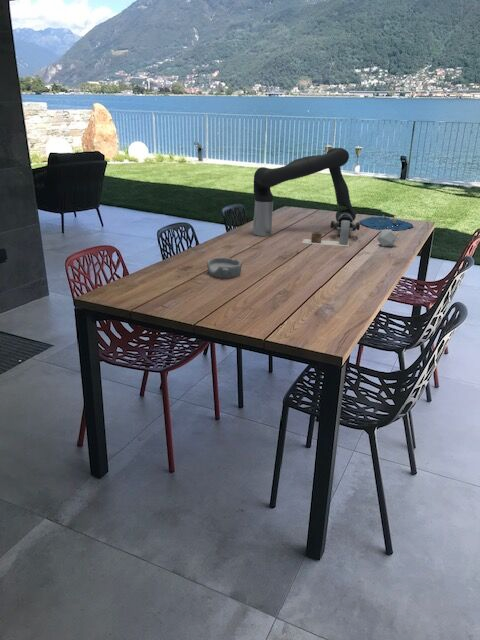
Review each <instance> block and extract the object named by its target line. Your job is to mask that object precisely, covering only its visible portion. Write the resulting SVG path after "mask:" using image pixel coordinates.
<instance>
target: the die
mask: <svg viewBox="0 0 480 640" xmlns="http://www.w3.org/2000/svg"><path fill="white" fill-rule="evenodd" d="M397 239H398V235H396V234H395V232H394V230H391V229H390V230H380V232H379V235H378V236H377V238H376V240H377V241H378V242H379V244H380V245H381V247H393V245H395V242H396V240H397Z"/></svg>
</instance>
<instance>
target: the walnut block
mask: <svg viewBox="0 0 480 640" xmlns="http://www.w3.org/2000/svg"><path fill="white" fill-rule="evenodd" d="M322 235H323V232H322V231H312V232H311V243H321V240H322Z"/></svg>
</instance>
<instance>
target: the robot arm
mask: <svg viewBox="0 0 480 640" xmlns="http://www.w3.org/2000/svg"><path fill="white" fill-rule="evenodd" d="M349 159H350V154H349V152H348V151H347V150H346V149H345V148H341V147H332V148H329V149H328V150H327V152H326V153H325V154H316V155H308V156H303V157H300V158H296V159H294V160H292V161H290V162H289V163H288V164H286V165H284V166H283V165H282V166H281V167H275V168H268V167H264V166H263V167H262V166H261V167H259V168H257V169H256V170H255V172H254V175H253V197H254V215H253V220H252V221H253V222H252V235H254V236H259V237H269V236H271V235H272V232H273V230H272V228H273V211H274V209H273V207H274V195H273V193H272V190H271V188H272V187H274V186H278V185H280V184H281V183H285V182H289V181H293V180H296V179H300V178H304V177H307V176H311V175H314V174H317V173H319V172H322V171H324V170H329V173H330V176H331V180H332V184H333V187H334V194H335V199H336V200H335V201H336V205H337V206H339V207H345V208H344V209H340V210H338V211H336V213H335V219H336V221H334V220H331V221H330V226H329V227H330V229H334V230H335V231H337V230H339V229H340V230H341V221H342V220H348V221H350V227H349V231H350V230H351V231H353V232H355V231H360V227H361V223H360V222H356V223H355V222H354V221H355V220H356V218H357V215H356V211H355V210H354V207H353V205H352V201H351V199H350V198H351V197H350V193H349V188H348V185H347V183H346V181H345V178H344V176H343V174H342V170H341V167H343V166H345V165H346V164H347V163H348V161H349Z"/></svg>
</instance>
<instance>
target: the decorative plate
mask: <svg viewBox="0 0 480 640" xmlns="http://www.w3.org/2000/svg"><path fill="white" fill-rule="evenodd" d="M359 224H360V225H362V226H365V227H368V228H369V229H371V230H380V231H381V230H385V229H386V230H390V229H391V230H392V231H402V230H405V231H406V230H408V229H409V228H413V227H414V225H413V223H410V222H408V221H405V220H401V219H397V218H391V217H388V216H386V215H385V214H382V215H381V216H370V217H367V218H364V219H360V220H359ZM399 224H400V225H399ZM395 225H396V226H395ZM397 225H398V226H397ZM392 226H393V227H392ZM385 227H386V228H385ZM387 227H388V228H387Z"/></svg>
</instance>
